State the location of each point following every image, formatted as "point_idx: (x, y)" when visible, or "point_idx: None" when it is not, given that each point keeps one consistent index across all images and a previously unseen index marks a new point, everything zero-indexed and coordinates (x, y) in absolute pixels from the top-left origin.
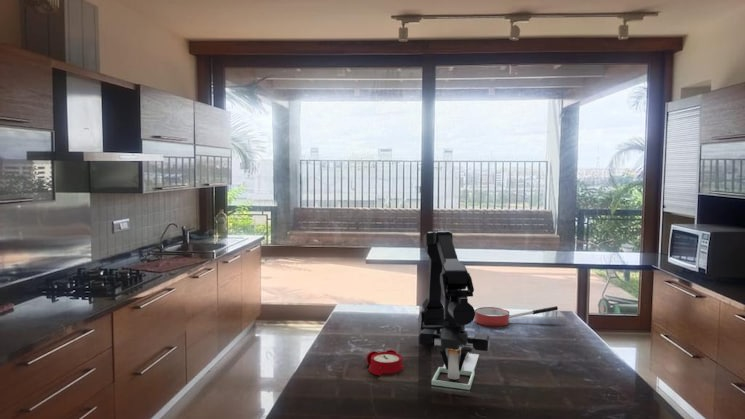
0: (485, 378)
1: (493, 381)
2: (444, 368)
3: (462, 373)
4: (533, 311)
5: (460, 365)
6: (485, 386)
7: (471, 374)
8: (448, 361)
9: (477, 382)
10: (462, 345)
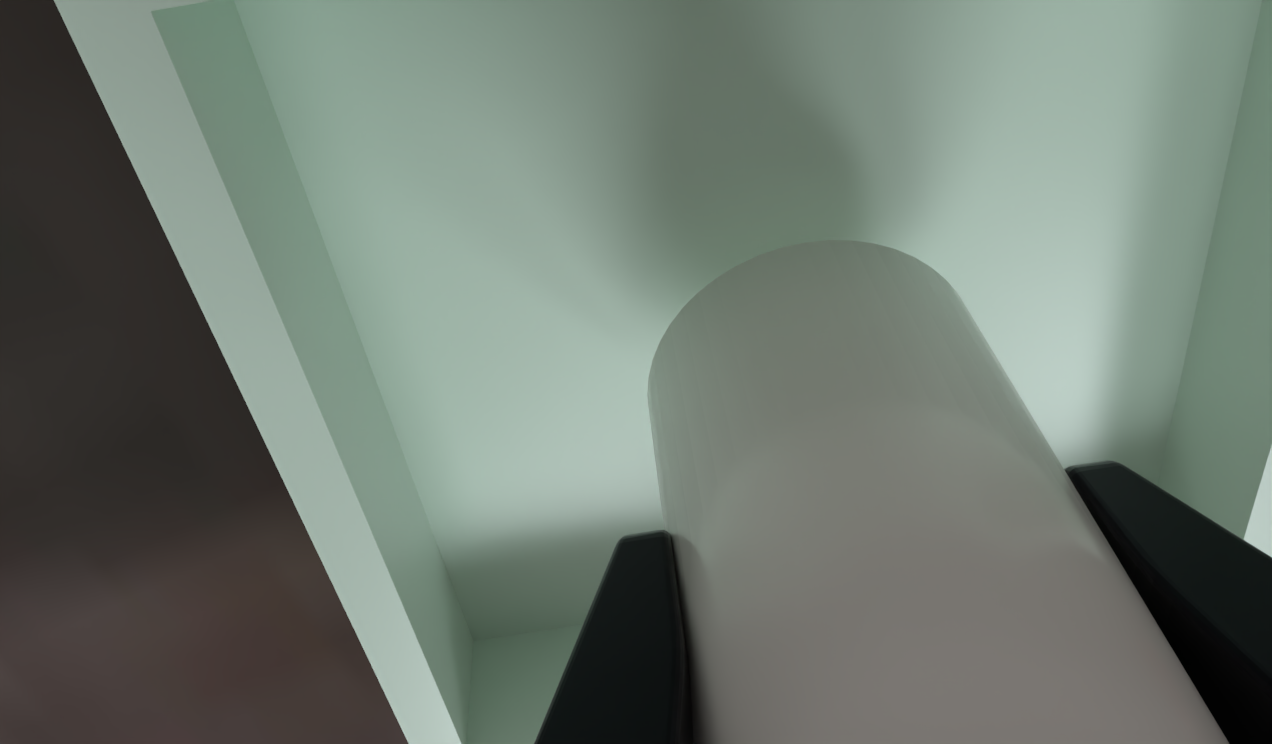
0: (273, 726)
1: (77, 691)
2: None
3: None
4: None
5: (623, 690)
6: (60, 456)
7: (411, 643)
8: (1205, 709)
9: None
10: None
